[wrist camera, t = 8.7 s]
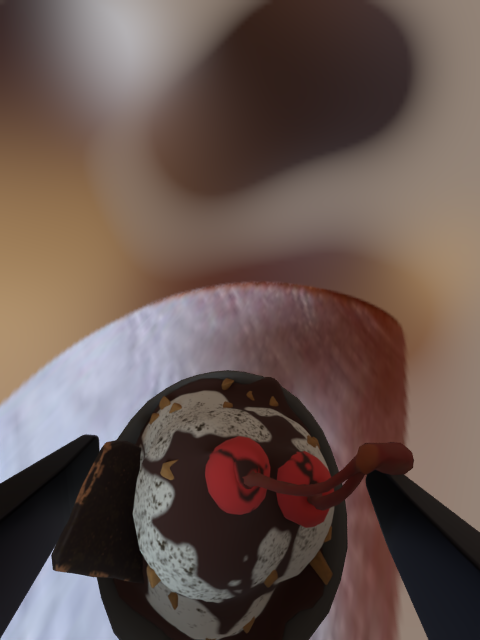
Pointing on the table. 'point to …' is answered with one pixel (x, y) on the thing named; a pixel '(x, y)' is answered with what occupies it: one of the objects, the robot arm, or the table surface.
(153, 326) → the table surface
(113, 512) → the sundae
